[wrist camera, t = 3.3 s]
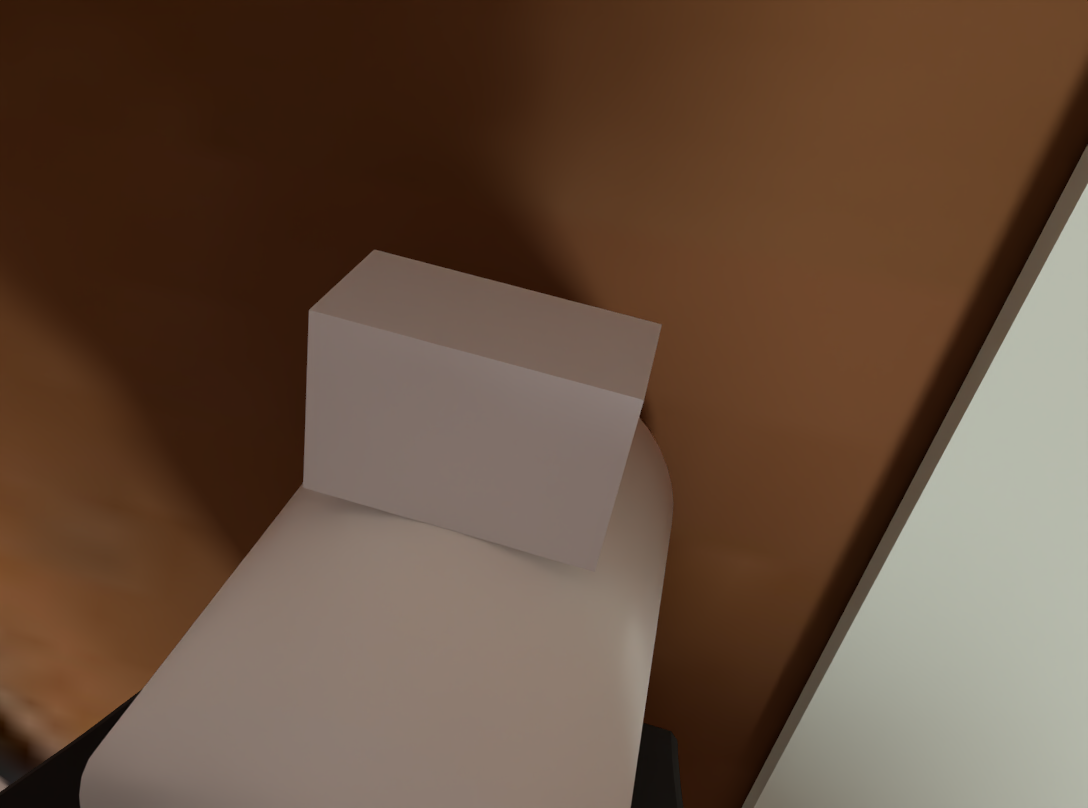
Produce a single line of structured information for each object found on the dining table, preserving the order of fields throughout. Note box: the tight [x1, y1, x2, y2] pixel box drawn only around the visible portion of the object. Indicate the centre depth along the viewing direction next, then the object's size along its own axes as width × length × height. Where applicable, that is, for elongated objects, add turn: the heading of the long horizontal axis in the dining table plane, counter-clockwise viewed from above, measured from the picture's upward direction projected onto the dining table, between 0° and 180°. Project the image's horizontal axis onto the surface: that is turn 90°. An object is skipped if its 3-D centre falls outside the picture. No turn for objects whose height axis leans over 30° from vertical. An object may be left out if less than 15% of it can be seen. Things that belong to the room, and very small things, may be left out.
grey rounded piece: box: [79, 249, 673, 808], centre depth 9 cm, size 11×4×5 cm, turn 170°
